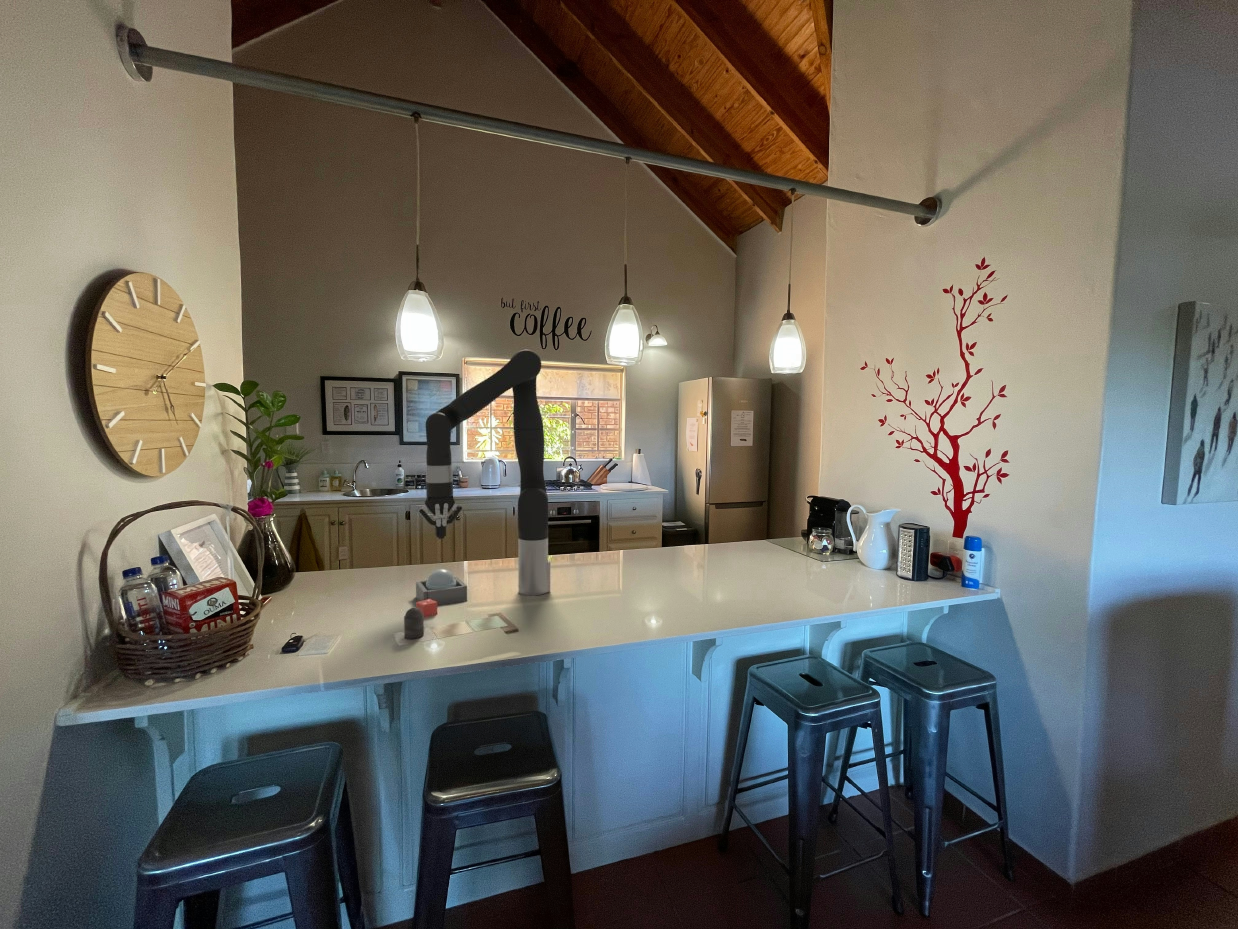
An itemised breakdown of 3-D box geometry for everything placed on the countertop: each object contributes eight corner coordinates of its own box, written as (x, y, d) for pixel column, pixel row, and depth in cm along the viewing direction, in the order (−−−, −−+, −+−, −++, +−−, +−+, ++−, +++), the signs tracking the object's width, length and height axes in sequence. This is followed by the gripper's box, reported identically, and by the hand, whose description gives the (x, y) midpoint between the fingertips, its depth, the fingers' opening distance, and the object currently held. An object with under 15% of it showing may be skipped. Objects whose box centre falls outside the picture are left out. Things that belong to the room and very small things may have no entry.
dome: (452, 588, 170) (452, 564, 169) (459, 596, 162) (459, 570, 162) (423, 592, 165) (423, 567, 165) (429, 600, 158) (429, 574, 158)
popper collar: (456, 590, 173) (456, 576, 172) (467, 601, 162) (467, 586, 162) (415, 596, 166) (415, 581, 166) (424, 607, 156) (423, 592, 155)
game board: (500, 614, 151) (500, 611, 151) (518, 631, 139) (518, 627, 139) (383, 634, 136) (383, 631, 135) (392, 655, 124) (392, 651, 123)
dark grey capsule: (421, 631, 136) (421, 604, 135) (425, 637, 132) (425, 609, 131) (402, 634, 133) (402, 606, 133) (406, 641, 130) (405, 612, 129)
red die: (430, 613, 151) (430, 598, 151) (437, 616, 149) (437, 601, 148) (416, 616, 148) (416, 601, 148) (423, 620, 146) (423, 605, 145)
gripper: (418, 482, 155) (420, 543, 156) (465, 480, 162) (466, 538, 163) (413, 480, 161) (415, 538, 163) (458, 478, 168) (459, 534, 169)
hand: (440, 538), depth 163 cm, fingers closed
